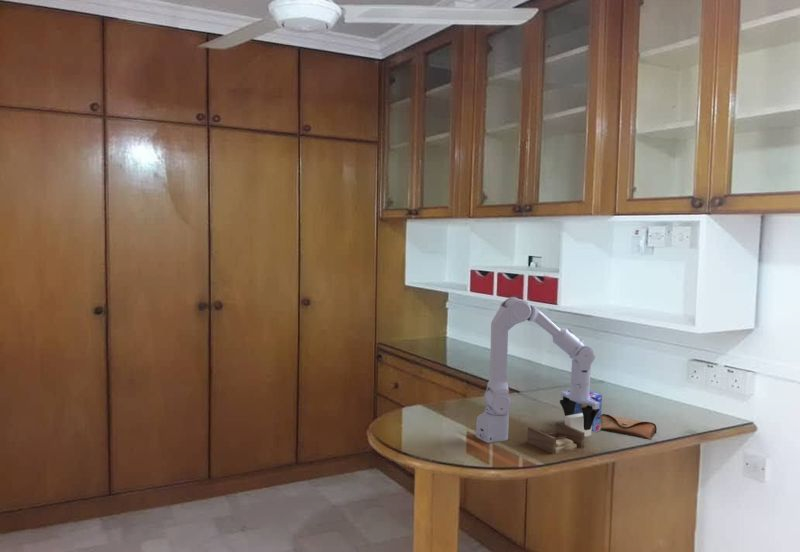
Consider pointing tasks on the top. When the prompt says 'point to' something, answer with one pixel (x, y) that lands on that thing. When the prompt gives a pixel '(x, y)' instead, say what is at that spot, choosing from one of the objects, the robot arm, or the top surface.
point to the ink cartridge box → (597, 420)
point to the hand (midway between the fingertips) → (578, 425)
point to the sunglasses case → (628, 426)
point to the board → (577, 423)
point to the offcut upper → (563, 442)
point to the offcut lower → (566, 447)
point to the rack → (555, 438)
